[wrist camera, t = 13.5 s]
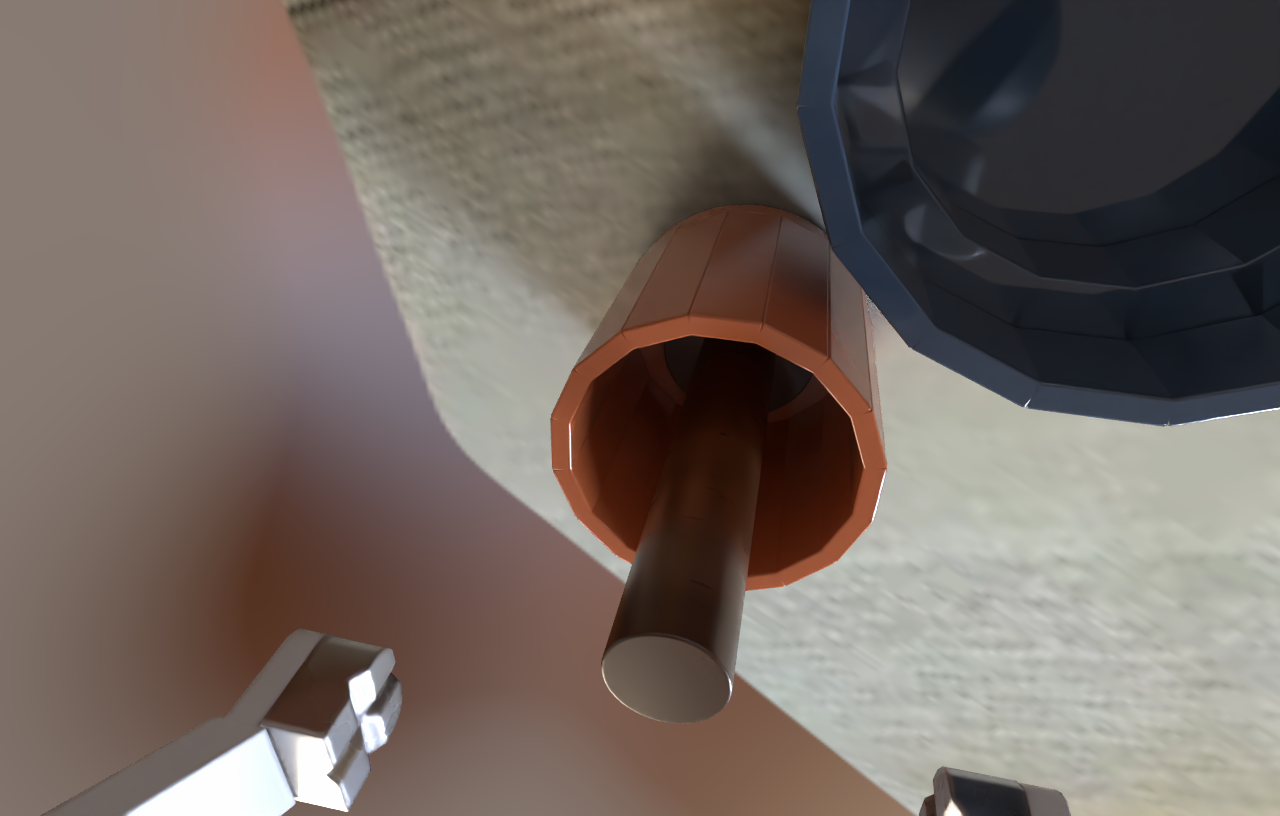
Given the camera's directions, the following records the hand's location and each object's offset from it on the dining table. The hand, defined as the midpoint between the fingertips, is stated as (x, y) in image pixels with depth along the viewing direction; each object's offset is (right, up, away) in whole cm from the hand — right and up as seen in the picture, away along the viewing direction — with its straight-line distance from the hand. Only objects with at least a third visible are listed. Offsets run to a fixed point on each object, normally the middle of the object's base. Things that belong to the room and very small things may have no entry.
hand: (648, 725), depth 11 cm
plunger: (+3, +7, +12) cm, 14 cm away
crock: (+3, +7, +13) cm, 15 cm away
